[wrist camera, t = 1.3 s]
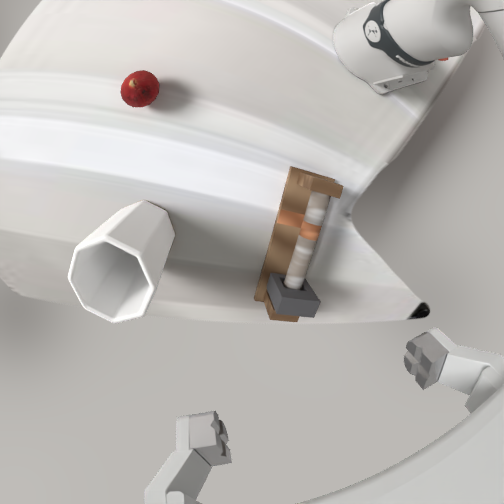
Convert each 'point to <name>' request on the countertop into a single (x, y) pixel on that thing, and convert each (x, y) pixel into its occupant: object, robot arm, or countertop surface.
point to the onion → (140, 89)
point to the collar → (292, 297)
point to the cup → (122, 262)
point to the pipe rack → (296, 232)
